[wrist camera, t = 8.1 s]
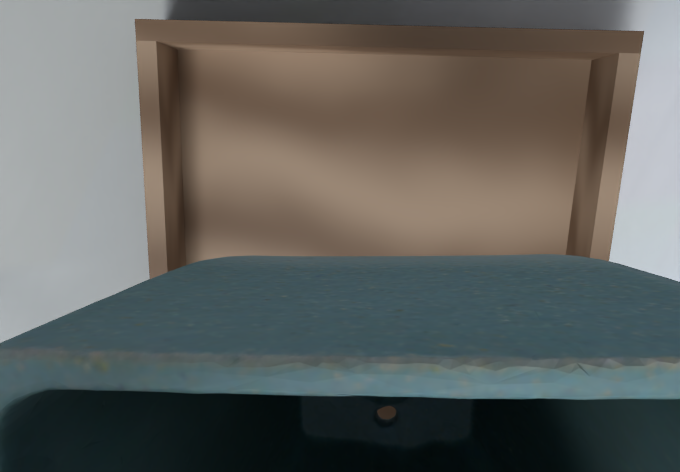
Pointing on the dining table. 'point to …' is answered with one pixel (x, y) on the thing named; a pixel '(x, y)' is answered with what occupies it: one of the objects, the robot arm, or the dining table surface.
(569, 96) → the box
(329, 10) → the dining table surface
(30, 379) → the flower pot
